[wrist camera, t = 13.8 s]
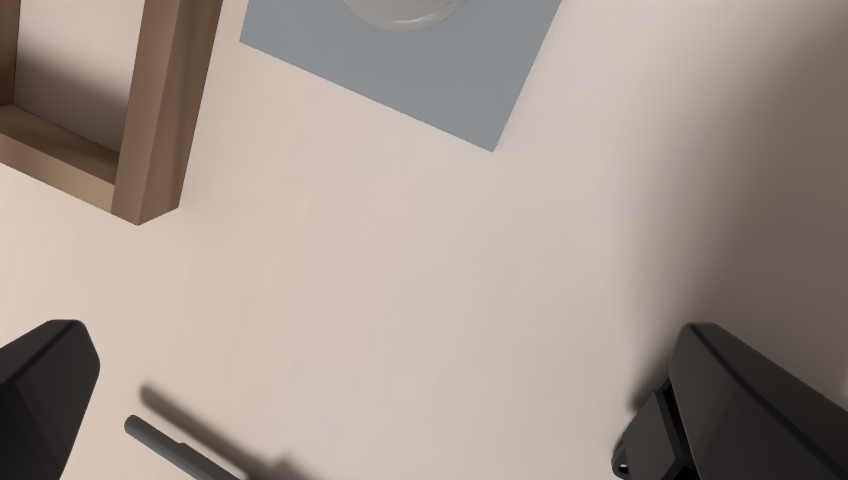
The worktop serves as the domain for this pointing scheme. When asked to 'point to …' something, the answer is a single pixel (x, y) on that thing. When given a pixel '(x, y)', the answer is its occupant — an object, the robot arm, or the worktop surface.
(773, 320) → the worktop surface
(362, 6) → the screw
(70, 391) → the robot arm
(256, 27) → the mat
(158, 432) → the walkie-talkie
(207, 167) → the worktop surface
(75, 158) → the square wooden frame
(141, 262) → the worktop surface
